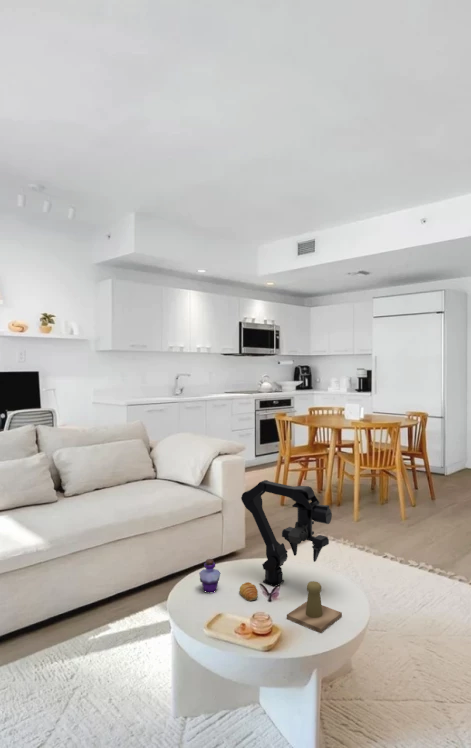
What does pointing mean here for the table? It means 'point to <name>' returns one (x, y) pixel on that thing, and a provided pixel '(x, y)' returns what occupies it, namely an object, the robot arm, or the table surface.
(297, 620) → the walnut board
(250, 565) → the table surface
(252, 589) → the pastry
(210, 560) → the potion bottle
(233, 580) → the table surface
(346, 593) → the table surface
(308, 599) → the olive rounded upright piece
